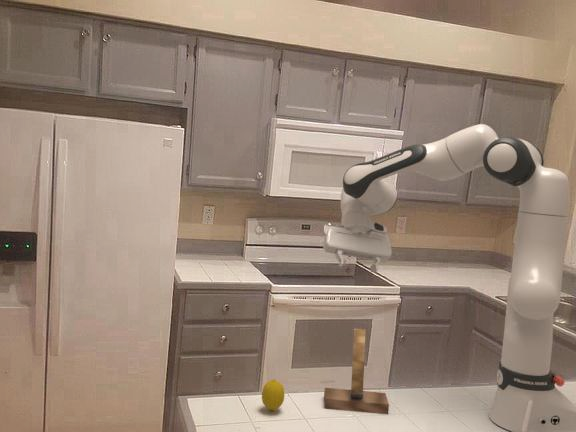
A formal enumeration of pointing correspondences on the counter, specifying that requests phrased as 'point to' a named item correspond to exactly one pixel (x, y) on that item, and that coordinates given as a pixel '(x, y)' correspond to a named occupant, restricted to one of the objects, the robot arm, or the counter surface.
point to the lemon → (273, 394)
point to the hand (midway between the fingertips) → (358, 268)
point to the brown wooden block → (355, 401)
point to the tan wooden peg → (358, 363)
